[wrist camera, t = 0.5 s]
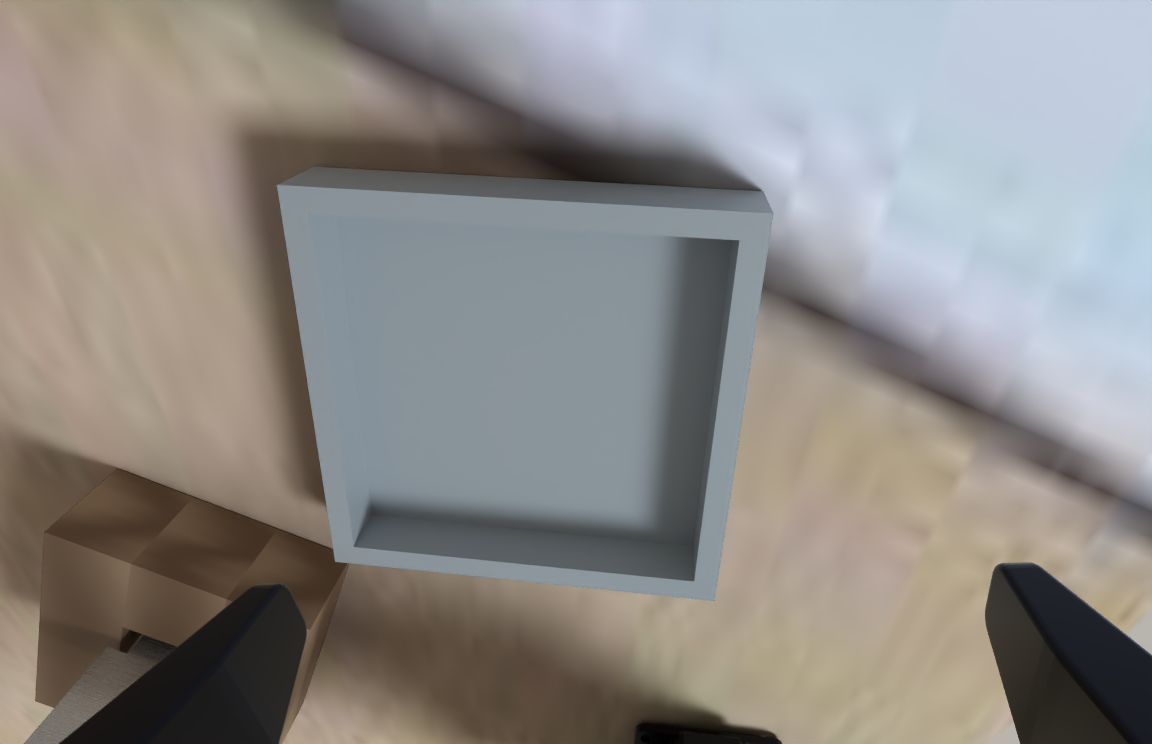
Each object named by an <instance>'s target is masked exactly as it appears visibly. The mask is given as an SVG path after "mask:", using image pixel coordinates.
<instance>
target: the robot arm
mask: <svg viewBox="0 0 1152 744" xmlns="http://www.w3.org/2000/svg"><path fill="white" fill-rule="evenodd" d="M985 621H986V627H987V632H988V635H989V639H990V642H991V645H992V649H993V652H994V656H995V659H996V663H997V666H998V669H999V673H1000V676H1001V680H1002V683H1003V687H1004V690H1005V693H1006V697H1007V700H1008V704H1009V707H1010V710H1011V714H1012V717H1013V721H1014V724H1015V728H1016V731H1017V734H1018V738H1019V741H1020V744H1152V655H1151V654H1150V653H1149V652H1147V651H1146V650H1145V649H1144V648H1142V647H1141V646H1140V645H1139V644H1137V643H1136V642H1135V641H1134V640H1132V639H1131V638H1130V637H1128V636H1127V635H1126V634H1125V633H1123V632H1122V631H1121V630H1120V629H1118V628H1117V627H1116V626H1115V625H1113V624H1112V623H1111V622H1110V621H1108V620H1107V619H1106V618H1105V617H1103V616H1102V615H1101V614H1100V613H1098V612H1097V611H1096V610H1095V609H1093V608H1092V607H1091V606H1090V605H1088V604H1087V603H1086V602H1084V601H1083V600H1082V599H1081V598H1079V597H1078V596H1077V595H1076V594H1074V593H1073V592H1072V591H1071V590H1069V589H1068V588H1067V587H1066V586H1064V585H1063V584H1062V583H1061V582H1059V581H1058V580H1057V579H1056V578H1054V577H1053V576H1052V575H1051V574H1049V573H1048V572H1047V571H1046V570H1044V569H1043V568H1042V567H1040V566H1038V565H1036V564H1034V563H1001V564H998V565H997V566H996V567H995V568H994V571H993V574H992V579H991V584H990V589H989V594H988V599H987V604H986V609H985ZM306 637H307V627H306V623H305V620H304V618H303V616H302V614H301V612H300V610H299V608H298V606H297V604H296V602H295V600H294V598H293V596H292V594H291V592H290V590H289V589H288V587H287V586H285V585H284V584H281V583H266V584H256V585H253V586H252V587H250V588H249V589H247V590H246V591H245V592H244V593H242V594H241V595H240V596H239V597H238V598H236V599H235V600H234V601H233V602H231V603H230V604H229V605H228V606H226V607H225V608H224V609H223V610H222V611H220V612H219V613H218V614H217V615H215V616H214V617H213V618H212V619H211V620H209V621H208V622H207V623H206V624H204V625H203V626H202V627H201V628H200V629H198V630H197V631H196V632H195V633H193V634H192V635H191V636H190V637H189V638H187V639H186V640H185V641H184V642H182V643H181V644H180V645H179V646H177V647H176V648H175V649H174V650H173V651H171V652H170V653H169V654H168V655H166V656H165V657H164V658H163V659H162V660H160V661H159V662H158V663H157V664H155V665H154V666H153V667H152V668H151V669H149V670H148V671H147V672H146V673H144V674H143V675H142V676H141V677H140V678H138V679H137V680H136V681H135V682H133V683H132V684H131V685H130V686H129V687H127V688H126V689H125V690H124V691H122V692H121V693H120V694H119V695H117V696H116V697H115V698H114V699H113V700H111V701H110V702H109V703H108V704H106V705H105V706H104V707H103V708H102V709H100V710H99V711H98V712H97V713H95V714H94V715H93V716H92V717H91V718H89V719H88V720H87V721H86V722H84V723H83V724H82V725H81V726H80V727H78V728H77V729H76V730H75V731H73V732H72V733H71V734H70V735H68V736H67V737H66V738H65V739H64V740H62V741H61V742H60V743H59V744H279V741H280V737H281V734H282V731H283V727H284V723H285V719H286V715H287V711H288V708H289V704H290V700H291V696H292V692H293V688H294V685H295V681H296V677H297V673H298V669H299V665H300V662H301V658H302V654H303V650H304V646H305V643H306ZM634 744H782V742H781V741H780V740H778V739H775V738H769V737H761V736H752V735H744V734H735V733H727V732H719V731H710V730H702V729H693V728H685V727H676V726H668V725H659V724H651V723H642V724H639V725H638V726H637V727H636V729H635V739H634Z"/></svg>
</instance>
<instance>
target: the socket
mask: <svg viewBox="0 0 1152 744" xmlns="http://www.w3.org/2000/svg"><path fill="white" fill-rule="evenodd" d="M348 565H349V563H342V562H335V558H334V551H333V550H332V549H329V548H326V547H324V546H321V545H318V544H316V543H313V542H310V541H308V540H305V539H302V538H300V537H297V536H294V535H292V534H289V533H287V532H284V531H281V530H279V529H276V528H273V527H271V526H268V525H265V524H263V523H260V522H257V521H255V520H252V519H250V518H247V517H244V516H242V515H239V514H236V513H234V512H231V511H228V510H226V509H223V508H220V507H218V506H215V505H213V504H210V503H207V502H205V501H202V500H199V499H197V498H194V497H191V496H189V495H186V494H183V493H181V492H178V491H176V490H173V489H170V488H168V487H165V486H162V485H160V484H157V483H154V482H152V481H149V480H146V479H144V478H141V477H138V476H136V475H133V474H131V473H128V472H125V471H123V470H120V469H117V470H115V471H114V472H113V473H112V474H111V475H110V476H109V477H107V478H106V479H105V480H104V481H103V482H102V483H100V484H99V485H98V486H97V487H96V488H95V489H94V490H92V491H91V492H90V493H89V494H88V495H87V496H85V497H84V498H83V499H82V500H81V501H80V502H79V503H77V504H76V505H75V506H74V507H73V508H72V509H70V510H69V511H68V512H67V513H66V514H65V515H64V516H62V517H61V518H60V519H59V520H58V521H57V522H55V523H54V524H53V525H52V526H51V527H50V528H49V529H47V530H46V531H45V532H44V549H43V568H42V586H41V604H40V623H39V641H38V660H37V678H36V696H35V701H36V702H39V703H42V704H45V705H48V706H51V707H53V708H55V707H56V706H57V705H58V703H59V702H60V701H61V700H62V699H63V698H64V696H65V695H66V694H67V693H68V692H69V691H70V689H71V688H72V687H73V686H74V685H75V684H76V682H77V681H78V680H79V679H80V678H81V677H82V676H83V674H84V673H85V672H86V671H87V670H88V669H89V667H90V666H91V665H92V664H93V663H94V662H95V660H96V659H97V658H98V657H99V656H100V655H101V653H102V652H103V651H104V650H105V649H106V648H107V647H110V648H113V649H115V650H118V651H121V652H124V653H126V654H128V653H129V652H130V651H131V649H132V648H133V647H134V646H135V644H136V643H137V642H138V641H139V640H140V638H141V637H142V636H143V635H146V636H149V637H151V638H154V639H157V640H160V641H162V642H165V643H168V644H171V645H173V646H176V647H177V646H179V645H180V644H181V643H182V642H184V641H185V640H186V639H187V638H189V637H190V636H191V635H192V634H193V633H195V632H196V631H197V630H198V629H200V628H201V627H202V626H203V625H204V624H206V623H207V622H208V621H209V620H211V619H212V618H213V617H214V616H215V615H217V614H218V613H219V612H220V611H222V610H223V609H224V608H225V607H226V606H228V605H229V604H230V603H231V602H233V601H234V600H235V599H236V598H238V597H239V596H240V595H241V594H242V593H244V592H245V591H246V590H247V589H249V588H250V587H252V586H253V585H256V584H266V583H281V584H284V585H285V586H287V587H288V589H289V590H290V592H291V594H292V596H293V598H294V600H295V602H296V604H297V606H298V608H299V610H300V612H301V614H302V616H303V618H304V620H305V623H306V627H307V637H306V643H305V646H304V650H303V654H302V658H301V662H300V665H299V669H298V673H297V677H296V681H295V685H294V688H293V692H292V696H291V700H290V704H289V708H288V711H287V715H286V719H285V723H284V727H283V731H282V734H281V737H280V741H279V744H282V743H283V741H284V739H285V737H286V735H287V733H288V731H289V729H290V727H291V725H292V724H293V722H294V720H295V718H296V716H297V714H298V712H299V710H300V708H301V706H302V704H303V702H304V699H305V696H306V693H307V690H308V687H309V684H310V681H311V678H312V675H313V672H314V669H315V666H316V662H317V659H318V656H319V653H320V650H321V647H322V644H323V641H324V638H325V635H326V632H327V629H328V626H329V623H330V620H331V617H332V614H333V611H334V608H335V605H336V602H337V598H338V595H339V592H340V589H341V586H342V583H343V580H344V577H345V574H346V571H347V568H348Z"/></svg>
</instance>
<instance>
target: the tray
mask: <svg viewBox="0 0 1152 744" xmlns="http://www.w3.org/2000/svg"><path fill="white" fill-rule="evenodd" d="M277 189H278V196H279V202H280V209H281V215H282V222H283V228H284V235H285V241H286V248H287V254H288V260H289V267H290V273H291V280H292V286H293V293H294V299H295V306H296V312H297V319H298V325H299V332H300V338H301V344H302V351H303V357H304V364H305V370H306V377H307V383H308V390H309V396H310V403H311V409H312V416H313V422H314V428H315V435H316V441H317V448H318V454H319V461H320V467H321V474H322V480H323V487H324V493H325V499H326V506H327V512H328V519H329V525H330V532H331V538H332V545H333V551H334V558H335V562H342V563H352V564H361V565H371V566H381V567H391V568H400V569H410V570H420V571H429V572H439V573H449V574H458V575H468V576H478V577H488V578H497V579H507V580H517V581H526V582H536V583H546V584H555V585H565V586H575V587H585V588H594V589H604V590H614V591H623V592H633V593H643V594H652V595H662V596H672V597H682V598H691V599H701V600H711V601H715V595H716V588H717V581H718V575H719V568H720V562H721V555H722V548H723V542H724V535H725V529H726V522H727V515H728V509H729V502H730V496H731V489H732V483H733V476H734V469H735V463H736V456H737V450H738V443H739V436H740V430H741V423H742V417H743V410H744V404H745V397H746V390H747V384H748V377H749V371H750V364H751V357H752V351H753V344H754V338H755V331H756V324H757V318H758V311H759V305H760V298H761V292H762V285H763V278H764V272H765V265H766V259H767V252H768V245H769V239H770V232H771V226H772V219H773V212H772V210H771V207H770V205H769V203H768V201H767V198H766V196H765V194H764V192H763V191H748V190H730V189H711V188H693V187H675V186H657V185H639V184H621V183H603V182H585V181H567V180H548V179H530V178H512V177H494V176H476V175H458V174H440V173H422V172H404V171H385V170H367V169H349V168H331V167H312V168H310V169H308V170H306V171H304V172H302V173H300V174H298V175H296V176H294V177H292V178H290V179H288V180H286V181H284V182H282V183H280V184H278V185H277Z"/></svg>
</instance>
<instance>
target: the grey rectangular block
mask: <svg viewBox="0 0 1152 744" xmlns="http://www.w3.org/2000/svg"><path fill="white" fill-rule="evenodd" d="M175 648H176V646H173V645H171V644H168V643H165V642H162V641H160V640H157V639H154V638H151V637H149V636H146V635H143V636H142V637H141V638H140V640H139V641H138V642H137V643H136V644H135V646H134V647H133V648H132V649H131V651H130V652H129V653H128V654H126V653H124V652H121V651H118V650H115V649H113V648H110V647H107V648H106V649H105V650H104V651H103V652H102V653H101V655H100V656H99V657H98V658H97V659H96V660H95V662H94V663H93V664H92V665H91V666H90V667H89V669H88V670H87V671H86V672H85V673H84V674H83V676H82V677H81V678H80V679H79V680H78V681H77V682H76V684H75V685H74V686H73V687H72V688H71V689H70V691H69V692H68V693H67V694H66V695H65V696H64V698H63V699H62V700H61V701H60V702H59V703H58V705H57V706H56V707H55V708H54V709H53V710H52V711H51V713H50V714H49V715H48V716H47V717H46V718H45V720H44V721H43V722H42V723H41V724H40V725H39V727H38V728H37V729H36V730H35V731H34V732H33V734H32V735H31V736H30V737H29V738H28V739H27V741H26V742H25V743H24V744H59V743H60V742H61V741H62V740H64V739H65V738H66V737H67V736H68V735H70V734H71V733H72V732H73V731H75V730H76V729H77V728H78V727H80V726H81V725H82V724H83V723H84V722H86V721H87V720H88V719H89V718H91V717H92V716H93V715H94V714H95V713H97V712H98V711H99V710H100V709H102V708H103V707H104V706H105V705H106V704H108V703H109V702H110V701H111V700H113V699H114V698H115V697H116V696H117V695H119V694H120V693H121V692H122V691H124V690H125V689H126V688H127V687H129V686H130V685H131V684H132V683H133V682H135V681H136V680H137V679H138V678H140V677H141V676H142V675H143V674H144V673H146V672H147V671H148V670H149V669H151V668H152V667H153V666H154V665H155V664H157V663H158V662H159V661H160V660H162V659H163V658H164V657H165V656H166V655H168V654H169V653H170V652H171V651H173V650H174V649H175Z"/></svg>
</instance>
